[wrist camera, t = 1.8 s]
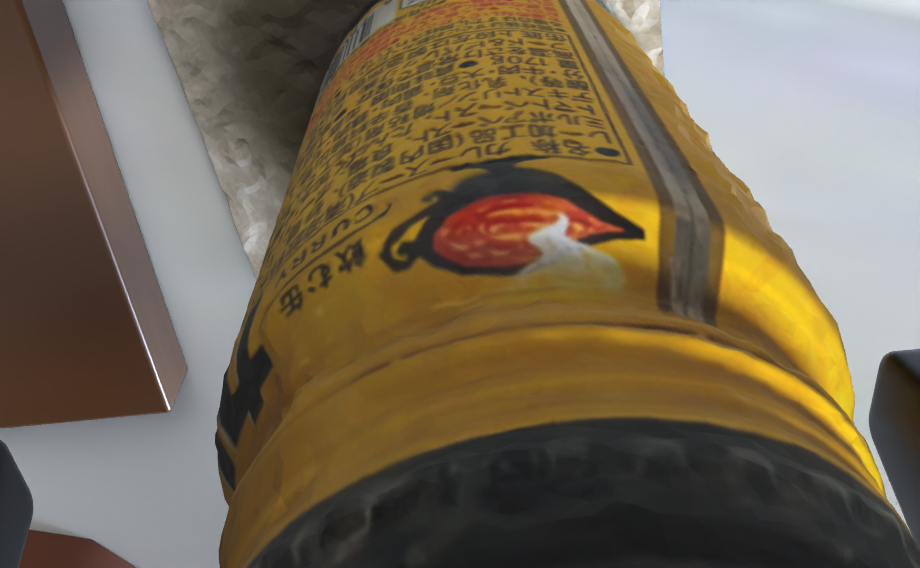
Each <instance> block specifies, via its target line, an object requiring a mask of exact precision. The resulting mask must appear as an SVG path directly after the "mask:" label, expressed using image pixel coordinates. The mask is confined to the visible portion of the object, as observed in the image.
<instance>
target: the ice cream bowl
mask: <svg viewBox="0 0 920 568" xmlns="http://www.w3.org/2000/svg"><path fill="white" fill-rule="evenodd" d="M19 568H135V567H134V566H132V565H131V564H129V563H128V562H126V561H124V560H123V559H121V558H120V557H118V556H117V555H115V554H113V553H112V552H110V551H109V550H107V549H106V548H104V547H102V546H101V545H99V544H98V543H96V542H95V541H93V540H91V539H84V538H77V537H71V536H64V535H57V534H51V533H44V532H37V531H31V530H29V531H28V535H27V538H26V542H25V546H24V549H23V553H22V557H21V561H20V564H19Z"/></svg>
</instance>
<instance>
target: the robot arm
mask: <svg viewBox="0 0 920 568" xmlns="http://www.w3.org/2000/svg"><path fill="white" fill-rule="evenodd" d="M869 427H870V432H871V436H872V439H873V442H874V444H875V447H876V449H877V451H878V454H879V456H880V459H881V461H882V464H883V466H884V469H885V471H886V473H887V476H888V478H889V481H890V483H891V486H892V488H893V491H894V493H895V495H896V498H897V500H898V503H899V505H900V508H901V510H902V513H903V515H904V518H905V520H906V522H907V525H908V527H909V530H910V532H911V535H912V537H913V539H914V540H915V541H916V543H917V544H918V545H919V546H920V349H913V350H903V351H893V352H890V353H888V354H886V355H885V356H884V357H883V359H882V360H881V363H880V366H879V370H878V375H877V379H876V384H875V389H874V393H873V398H872V403H871V408H870V413H869ZM32 515H33V500H32V495H31V492H30V490H29V488H28V486H27V484H26V482H25V480H24V478H23V476H22V474H21V472H20V470H19V469H18V467H17V465H16V463H15V461H14V459H13V457H12V455H11V453H10V451H9V449H8V447H7V446H6V444H5V443H3V442H2V441H1V440H0V568H19V564H20V561H21V557H22V553H23V549H24V546H25V542H26V538H27V535H28V531H29V527H30V523H31V520H32Z"/></svg>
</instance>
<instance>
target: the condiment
mask: <svg viewBox="0 0 920 568" xmlns="http://www.w3.org/2000/svg"><path fill="white" fill-rule="evenodd" d="M147 2H148V5H149V8H150V10H151V13H152V15H153V18H154V20H155V22H156V23H157V25H158V28H159V30H160V32H161V34H162V36H163V38H164V41H165V44H166V47H167V49H168V52H169V55H170V57H171V60H172V62H173V64H174V67H175V69H176V72H177V74H178V77H179V79H180V82H181V84H182V87H183V90H184V93H185V95H186V98H187V100H188V103H189V105H190V108H191V110H192V113H193V115H194V118H195V120H196V122H197V125H198V127H199V129H200V132H201V134H202V137H203V139H204V142H205V145H206V148H207V150H208V153H209V156H210V158H211V161H212V164H213V167H214V169H215V172H216V175H217V177H218V180H219V183H220V185H221V188H222V190H223V192H224V193H225V194H226V195H227V197H228V203H229V207H230V211H231V213H232V216H233V219H234V223H235V226H236V228H237V231H238V233H239V235H240V239H241V242H242V245H243V248H244V250H245V252H246V254H247V257H248V259H249V261H250V264H251V266H252V269H253V271H254V274H255V276H256V279H257V282H256V284H255V287H254V290H253V293H252V295H251V298H250V301H249V303H248V307H247V311H246V314H245V317H244V320H243V323H242V326H241V329H240V332H239V334H238V337H237V339H236V341H235V344H234V348H233V352H232V356H231V361H230V364H229V366H228V368H227V370H226V372H225V374H224V380H223V389H222V396H221V402H220V408H219V412H218V415H217V426H218V429H217V432H216V434H215V445H216V448H217V450H218V468H219V474H220V479H221V483H222V488H223V492H224V497H225V500H226V502H227V503H228V505H229V510H228V515H227V519H226V522H225V525H224V528H223V532H222V536H221V541H220V547H219V563H220V568H920V546H919V545H918V544H917V543H916V541H915V540H914V539H913V537H912V535H911V533H910V531H909V529H908V527H907V526H906V524H905V523H904V521H903V520H902V519H901V517H900V516H899V514H898V513H897V511H896V510H895V508H894V507H893V506H892V505H891V504H890V503H889V501H888V500H887V498H886V494H885V489H884V485H883V482H882V478H881V475H880V473H879V471H878V468H877V466H876V464H875V461H874V459H873V456H872V454H871V451H870V449H869V447H868V444H867V442H866V440H865V439H864V438H863V436H862V435H861V434H860V433H859V431H858V430H857V428H856V427H855V425H854V422H853V415H854V404H855V400H854V390H853V386H852V383H851V375H850V371H849V368H848V364H847V359H846V354H845V349H844V346H843V342H842V339H841V335H840V332H839V328H838V325H837V322H836V321H835V319H834V318H833V316H832V315H831V314H830V312H829V311H828V309H827V308H826V307H825V306H824V304H823V303H822V302H821V300H820V299H819V297H818V295H817V294H816V292H815V290H814V289H813V287H812V285H811V283H810V282H809V280H808V279H807V277H806V276H805V275H804V273H803V272H802V270H801V269H800V267H799V266H798V264H797V262H796V259H795V256H794V254H793V251H792V249H791V248H790V247H789V246H788V245H787V243H786V242H785V241H784V240H783V239H782V237H780V236H779V235H777V234H776V233H774V232H773V231H772V229H771V227H770V225H769V222H768V219H767V216H766V212H765V210H764V209H763V208H762V206H761V205H760V204H759V203H758V202H756V201H755V200H754V199H753V196H752V194H751V192H750V190H749V188H748V187H747V186H746V185H745V183H744V182H743V181H741V180H740V179H739V178H737V177H736V176H735V175H734V174H732V173H731V172H730V171H729V170H728V169H727V168H726V166H725V165H724V164H723V163H722V162H721V160H720V159H719V158H718V157H717V156H716V155H715V153H714V152H713V151H712V148H711V145H710V141H709V136H708V133H707V132H705V131H704V130H702V129H701V128H700V127H699V126H698V125H697V124H696V123H695V122H694V120H693V119H692V118H691V117H690V115H689V112H688V109H687V106H686V104H684V103H683V102H682V101H681V100H680V99H679V98H678V96H677V94H676V92H675V90H674V88H673V86H672V85H671V84H670V83H669V82H668V80H667V79H666V78H665V77H664V66H663V46H662V33H661V15H660V0H147Z"/></svg>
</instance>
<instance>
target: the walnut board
mask: <svg viewBox="0 0 920 568" xmlns="http://www.w3.org/2000/svg"><path fill="white" fill-rule="evenodd" d="M186 371H187V366H186V363H185V360H184V357H183V354H182V351H181V349H180V346H179V343H178V340H177V337H176V334H175V331H174V328H173V325H172V322H171V319H170V316H169V313H168V310H167V307H166V305H165V302H164V299H163V296H162V293H161V290H160V287H159V284H158V281H157V278H156V275H155V272H154V269H153V266H152V264H151V261H150V258H149V255H148V252H147V249H146V246H145V243H144V240H143V237H142V234H141V231H140V228H139V225H138V222H137V220H136V217H135V214H134V211H133V208H132V205H131V202H130V199H129V196H128V193H127V190H126V187H125V184H124V181H123V179H122V176H121V173H120V170H119V167H118V164H117V161H116V158H115V155H114V152H113V149H112V146H111V143H110V140H109V137H108V135H107V132H106V129H105V126H104V123H103V120H102V117H101V114H100V111H99V108H98V105H97V102H96V99H95V96H94V94H93V91H92V88H91V85H90V82H89V79H88V76H87V73H86V70H85V67H84V64H83V61H82V58H81V55H80V52H79V50H78V47H77V44H76V41H75V38H74V35H73V32H72V29H71V26H70V23H69V20H68V17H67V14H66V11H65V9H64V6H63V3H62V0H0V428H9V427H20V426H30V425H41V424H52V423H62V422H73V421H83V420H94V419H104V418H115V417H125V416H136V415H146V414H157V413H167V412H169V411H170V410H171V408H172V406H173V403H174V401H175V398H176V396H177V393H178V391H179V388H180V386H181V383H182V381H183V379H184V376H185V374H186Z"/></svg>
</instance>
